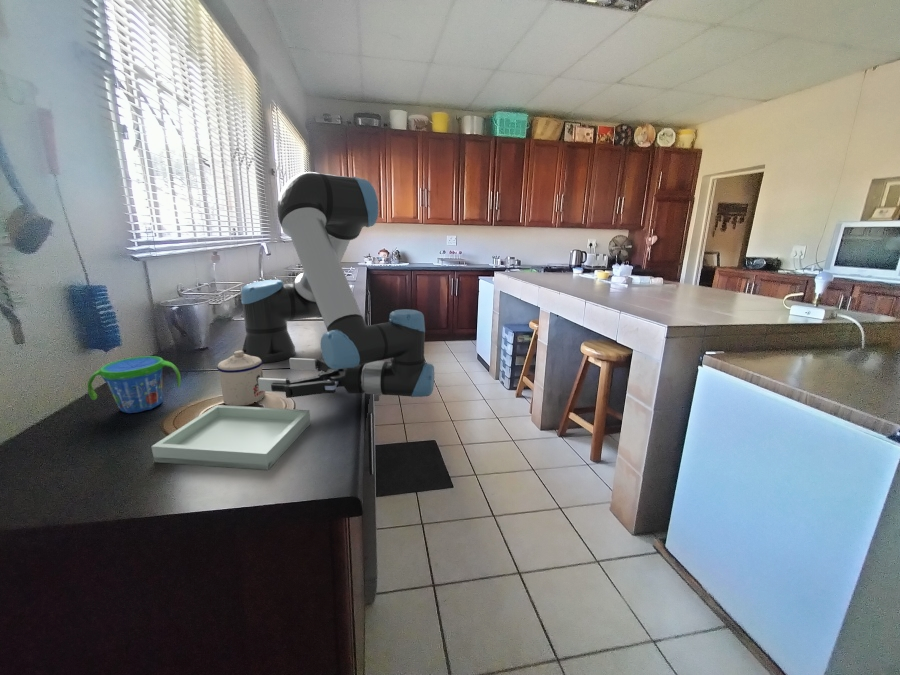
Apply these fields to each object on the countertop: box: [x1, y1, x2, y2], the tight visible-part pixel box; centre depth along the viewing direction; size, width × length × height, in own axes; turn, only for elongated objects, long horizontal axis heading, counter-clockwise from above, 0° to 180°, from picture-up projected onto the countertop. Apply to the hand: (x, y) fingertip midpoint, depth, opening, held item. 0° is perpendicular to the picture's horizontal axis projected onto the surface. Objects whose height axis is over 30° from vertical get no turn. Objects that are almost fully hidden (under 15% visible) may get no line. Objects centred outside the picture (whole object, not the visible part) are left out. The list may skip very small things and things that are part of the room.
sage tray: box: [150, 404, 311, 471], centre depth 70 cm, size 16×20×3 cm
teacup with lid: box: [216, 350, 266, 407], centre depth 88 cm, size 12×9×12 cm
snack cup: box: [87, 355, 182, 414], centre depth 82 cm, size 16×10×10 cm
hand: (275, 373), depth 87 cm, fingers open, 13 cm apart
